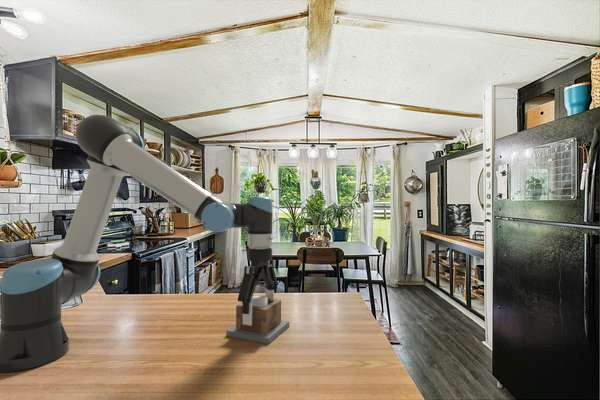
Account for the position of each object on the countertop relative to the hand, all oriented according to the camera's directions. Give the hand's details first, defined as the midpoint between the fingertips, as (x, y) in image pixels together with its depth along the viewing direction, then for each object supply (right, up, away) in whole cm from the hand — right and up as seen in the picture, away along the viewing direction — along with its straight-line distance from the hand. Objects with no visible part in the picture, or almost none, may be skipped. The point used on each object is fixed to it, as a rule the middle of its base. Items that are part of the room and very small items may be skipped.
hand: (259, 316), depth 97 cm
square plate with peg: (0, -4, 0) cm, 4 cm away
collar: (0, -3, 0) cm, 3 cm away
